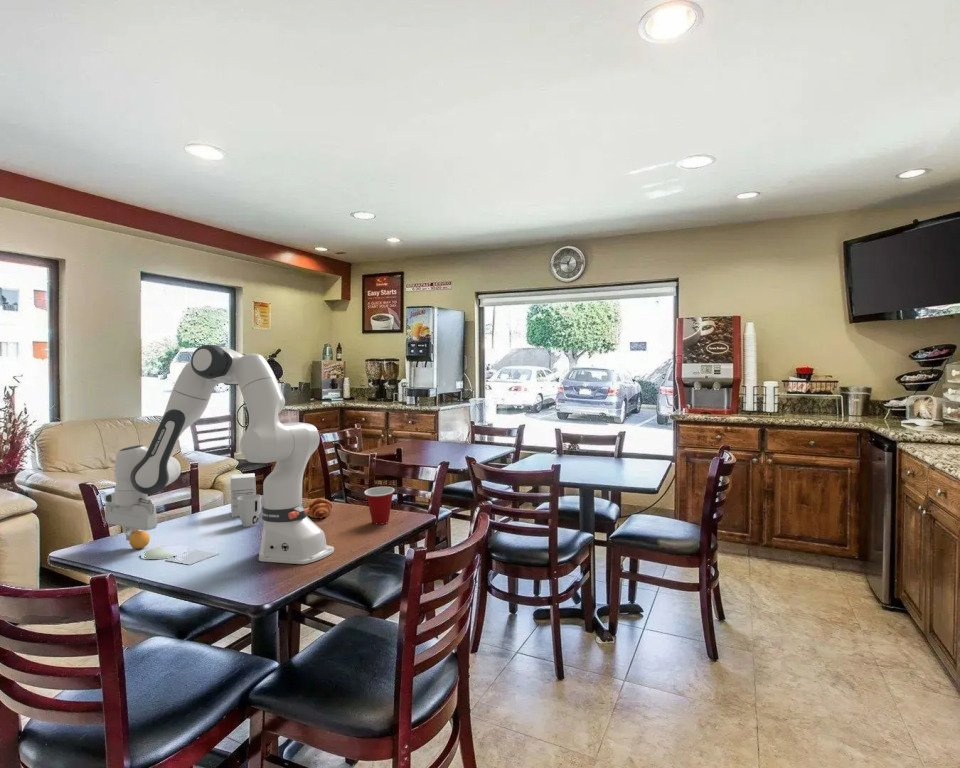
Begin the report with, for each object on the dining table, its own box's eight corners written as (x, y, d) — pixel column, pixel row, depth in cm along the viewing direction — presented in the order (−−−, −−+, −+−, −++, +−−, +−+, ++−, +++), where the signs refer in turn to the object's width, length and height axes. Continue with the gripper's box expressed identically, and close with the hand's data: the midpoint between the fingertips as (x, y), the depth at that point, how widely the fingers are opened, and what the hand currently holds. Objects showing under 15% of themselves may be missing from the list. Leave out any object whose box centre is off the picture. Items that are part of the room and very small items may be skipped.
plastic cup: (358, 525, 192) (358, 492, 192) (374, 517, 202) (373, 485, 202) (386, 527, 189) (385, 493, 188) (400, 519, 199) (399, 487, 199)
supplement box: (231, 512, 214) (230, 474, 214) (255, 509, 217) (255, 472, 217) (230, 517, 205) (229, 478, 205) (256, 514, 209) (255, 476, 209)
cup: (256, 527, 191) (255, 499, 191) (233, 527, 191) (233, 499, 191) (265, 521, 199) (265, 494, 199) (244, 521, 199) (243, 494, 199)
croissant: (307, 517, 217) (297, 501, 216) (329, 503, 221) (319, 487, 219) (315, 530, 198) (304, 512, 197) (339, 514, 202) (328, 496, 200)
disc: (198, 548, 168) (198, 548, 168) (159, 562, 157) (159, 561, 157) (169, 543, 174) (169, 543, 174) (129, 556, 162) (129, 556, 162)
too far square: (218, 554, 163) (218, 553, 163) (189, 565, 154) (189, 564, 154) (195, 550, 167) (195, 549, 167) (165, 560, 158) (165, 560, 158)
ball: (144, 547, 173) (155, 543, 171) (127, 552, 168) (138, 549, 166) (140, 530, 173) (151, 526, 171) (123, 535, 168) (134, 531, 166)
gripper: (162, 498, 169) (162, 542, 170) (120, 491, 178) (120, 533, 178) (143, 502, 164) (143, 547, 164) (100, 495, 172) (100, 538, 172)
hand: (131, 540), depth 171 cm, fingers closed
